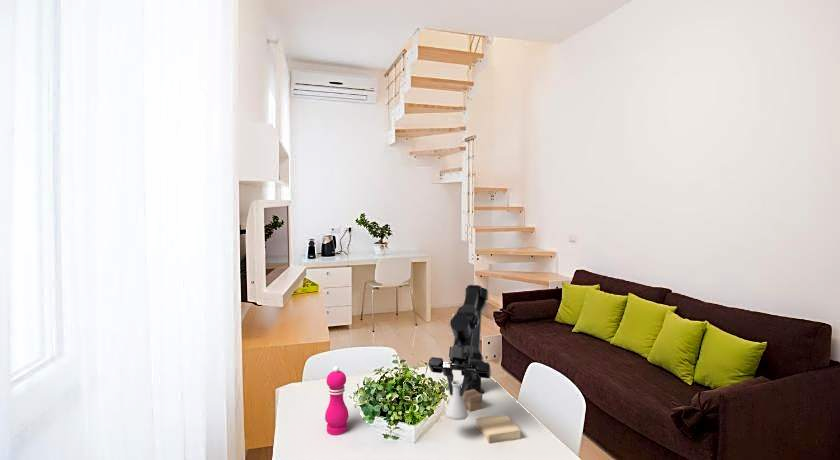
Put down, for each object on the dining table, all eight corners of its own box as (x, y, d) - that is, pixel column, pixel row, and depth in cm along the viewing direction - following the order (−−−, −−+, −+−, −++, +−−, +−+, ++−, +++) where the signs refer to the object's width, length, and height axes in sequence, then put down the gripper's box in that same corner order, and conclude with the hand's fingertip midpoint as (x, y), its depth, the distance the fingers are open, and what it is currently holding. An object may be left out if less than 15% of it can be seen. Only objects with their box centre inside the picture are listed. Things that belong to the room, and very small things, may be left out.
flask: (467, 422, 119) (468, 388, 118) (443, 420, 120) (443, 386, 119) (469, 410, 126) (469, 378, 125) (445, 408, 127) (446, 376, 127)
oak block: (476, 427, 129) (476, 418, 129) (505, 423, 131) (505, 414, 131) (489, 445, 119) (489, 434, 119) (520, 440, 122) (520, 430, 122)
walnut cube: (462, 406, 142) (462, 392, 142) (473, 402, 145) (473, 389, 145) (470, 412, 138) (470, 397, 138) (482, 408, 140) (482, 394, 140)
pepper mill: (325, 437, 123) (324, 372, 122) (324, 425, 130) (323, 363, 129) (349, 434, 125) (349, 369, 124) (347, 422, 131) (346, 361, 131)
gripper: (429, 332, 128) (420, 380, 118) (489, 336, 123) (485, 388, 113) (435, 348, 136) (427, 395, 126) (492, 353, 131) (488, 403, 121)
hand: (455, 395), depth 121 cm, fingers closed on flask, 3 cm apart
